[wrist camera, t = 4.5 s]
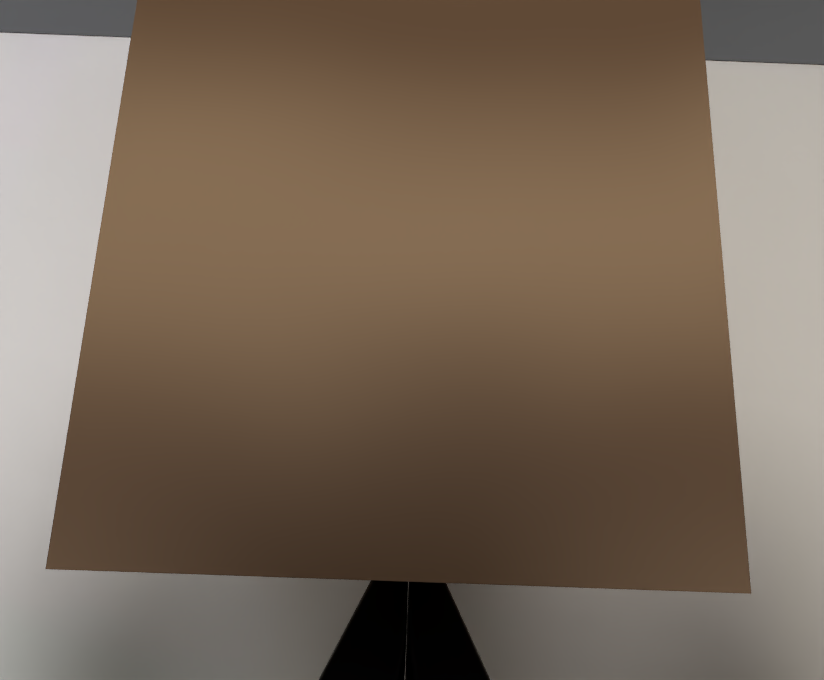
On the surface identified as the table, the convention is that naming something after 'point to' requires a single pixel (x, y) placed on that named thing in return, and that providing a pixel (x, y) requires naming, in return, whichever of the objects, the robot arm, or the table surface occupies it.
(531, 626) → the table surface
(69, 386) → the table surface
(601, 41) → the walnut block
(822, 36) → the grey board
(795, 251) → the table surface
